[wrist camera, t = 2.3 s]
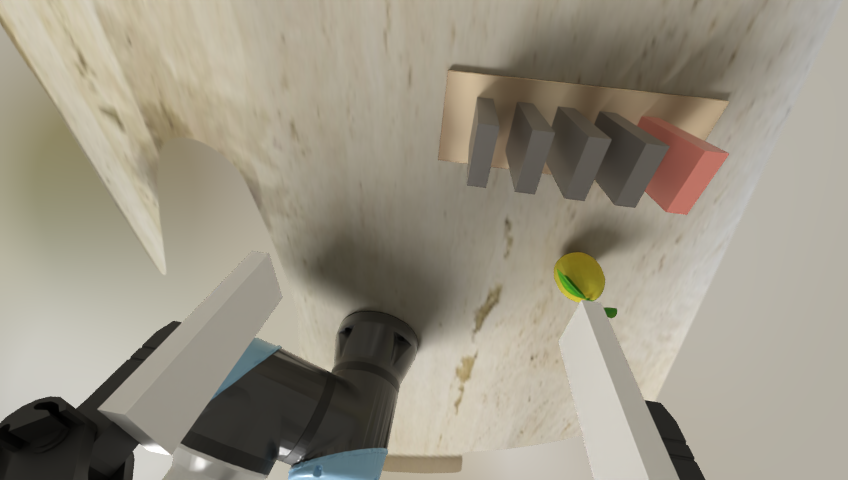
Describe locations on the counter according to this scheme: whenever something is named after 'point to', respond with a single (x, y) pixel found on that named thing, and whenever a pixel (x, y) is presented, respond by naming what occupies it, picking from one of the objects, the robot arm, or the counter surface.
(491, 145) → the domino
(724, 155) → the domino
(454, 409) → the counter surface
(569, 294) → the lemon
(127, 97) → the counter surface
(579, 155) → the domino
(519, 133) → the domino
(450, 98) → the board
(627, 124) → the domino
